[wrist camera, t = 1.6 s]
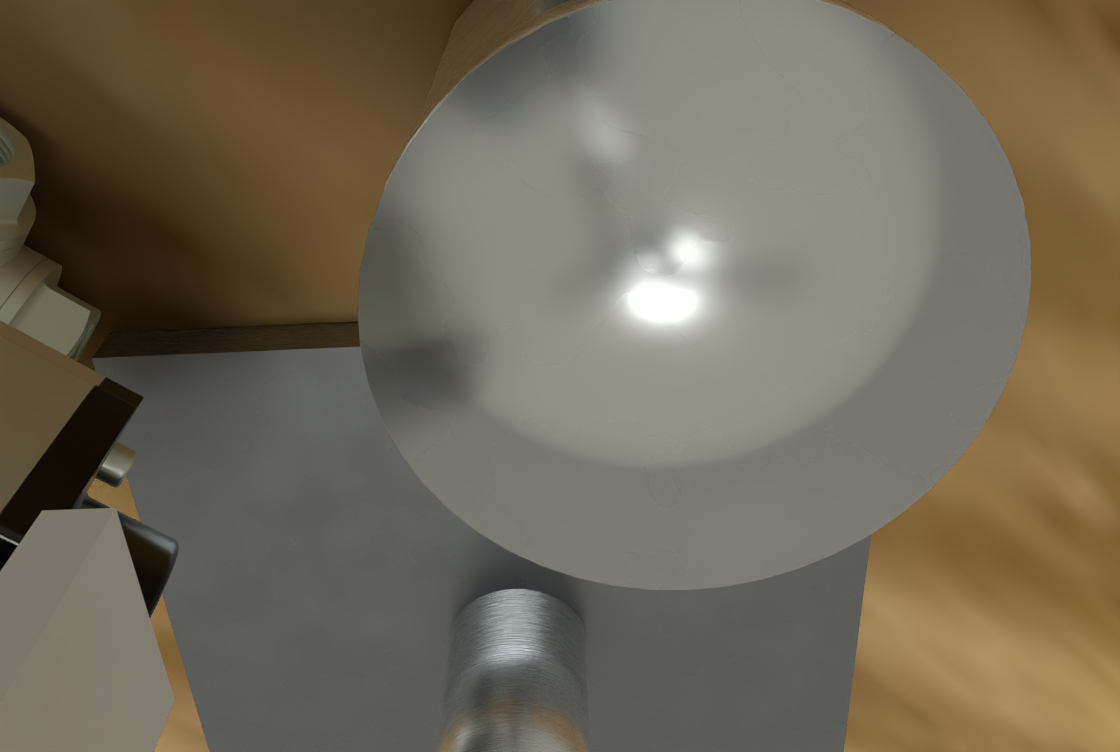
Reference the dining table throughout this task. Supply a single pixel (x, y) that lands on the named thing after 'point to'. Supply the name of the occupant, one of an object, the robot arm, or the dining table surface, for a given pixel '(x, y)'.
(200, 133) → the dining table surface
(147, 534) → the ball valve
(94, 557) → the robot arm
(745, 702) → the grey metal plate
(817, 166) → the grey metal fitting
